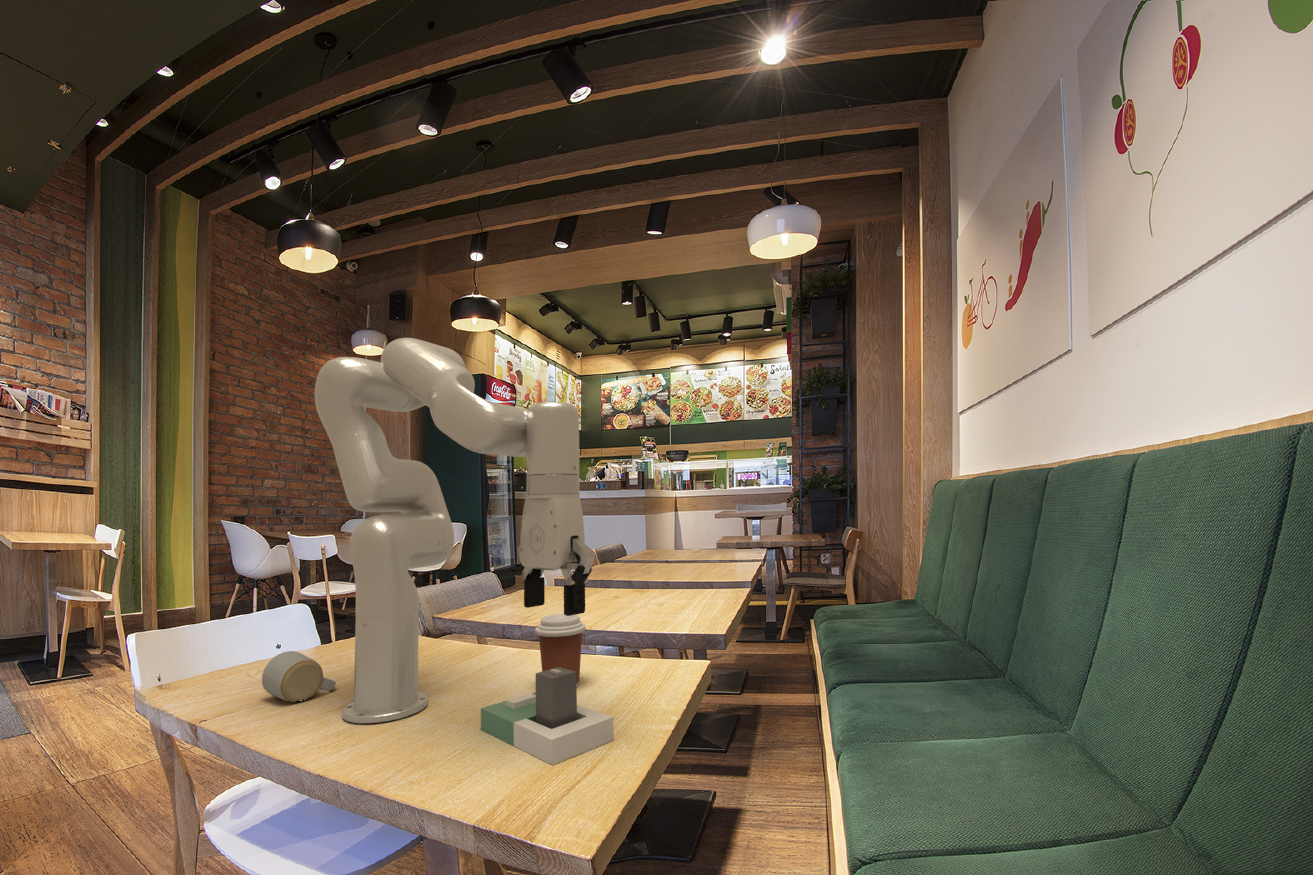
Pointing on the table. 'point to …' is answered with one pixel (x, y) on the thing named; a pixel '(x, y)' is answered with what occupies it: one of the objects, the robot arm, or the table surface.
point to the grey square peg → (556, 697)
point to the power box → (545, 729)
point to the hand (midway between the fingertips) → (553, 609)
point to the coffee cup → (561, 642)
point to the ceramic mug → (294, 677)
